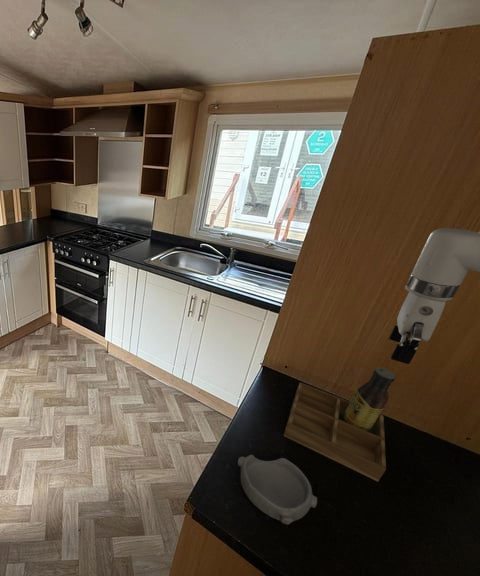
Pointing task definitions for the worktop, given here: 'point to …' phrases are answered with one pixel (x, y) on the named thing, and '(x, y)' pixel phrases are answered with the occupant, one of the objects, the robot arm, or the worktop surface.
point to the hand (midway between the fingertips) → (398, 350)
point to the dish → (276, 488)
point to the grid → (336, 432)
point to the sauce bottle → (369, 400)
